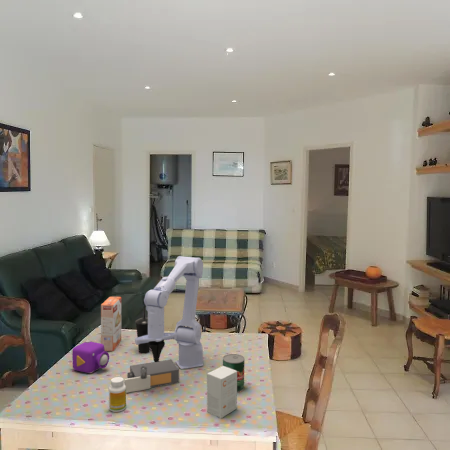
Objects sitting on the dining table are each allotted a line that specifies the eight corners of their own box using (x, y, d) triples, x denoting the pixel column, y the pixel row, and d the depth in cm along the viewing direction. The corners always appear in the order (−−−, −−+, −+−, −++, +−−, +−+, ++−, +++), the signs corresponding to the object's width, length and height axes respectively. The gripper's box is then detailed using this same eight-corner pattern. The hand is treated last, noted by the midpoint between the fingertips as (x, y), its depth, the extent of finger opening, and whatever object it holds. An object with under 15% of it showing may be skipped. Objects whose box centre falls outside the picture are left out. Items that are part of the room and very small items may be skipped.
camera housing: (171, 371, 170) (171, 359, 170) (179, 382, 161) (179, 369, 160) (125, 379, 163) (125, 366, 163) (131, 391, 154) (131, 377, 153)
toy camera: (101, 376, 165) (101, 351, 164) (69, 373, 168) (68, 347, 167) (114, 365, 176) (114, 341, 175) (83, 361, 178) (83, 338, 177)
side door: (149, 387, 156) (149, 365, 155) (151, 390, 154) (151, 367, 153) (124, 391, 153) (124, 369, 152) (125, 394, 151) (125, 372, 150)
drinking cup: (156, 350, 191) (156, 305, 189) (144, 356, 185) (144, 310, 183) (144, 346, 195) (143, 303, 193) (131, 352, 189) (131, 307, 187)
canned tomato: (240, 394, 153) (240, 364, 152) (219, 390, 155) (219, 360, 154) (246, 384, 160) (247, 355, 159) (226, 381, 163) (227, 352, 162)
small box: (222, 402, 147) (223, 365, 146) (237, 408, 143) (237, 370, 142) (206, 411, 141) (206, 373, 140) (221, 418, 137) (221, 379, 135)
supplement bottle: (128, 409, 142) (128, 380, 141) (112, 414, 139) (111, 384, 138) (122, 402, 146) (122, 374, 145) (106, 406, 143) (106, 378, 142)
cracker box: (114, 351, 189) (113, 304, 187) (100, 351, 189) (99, 304, 187) (122, 340, 203) (122, 296, 201) (109, 339, 203) (108, 296, 201)
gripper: (137, 329, 147) (138, 368, 148) (179, 324, 153) (179, 362, 154) (133, 323, 154) (133, 360, 155) (173, 318, 159) (173, 354, 161)
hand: (156, 361), depth 155 cm, fingers closed
